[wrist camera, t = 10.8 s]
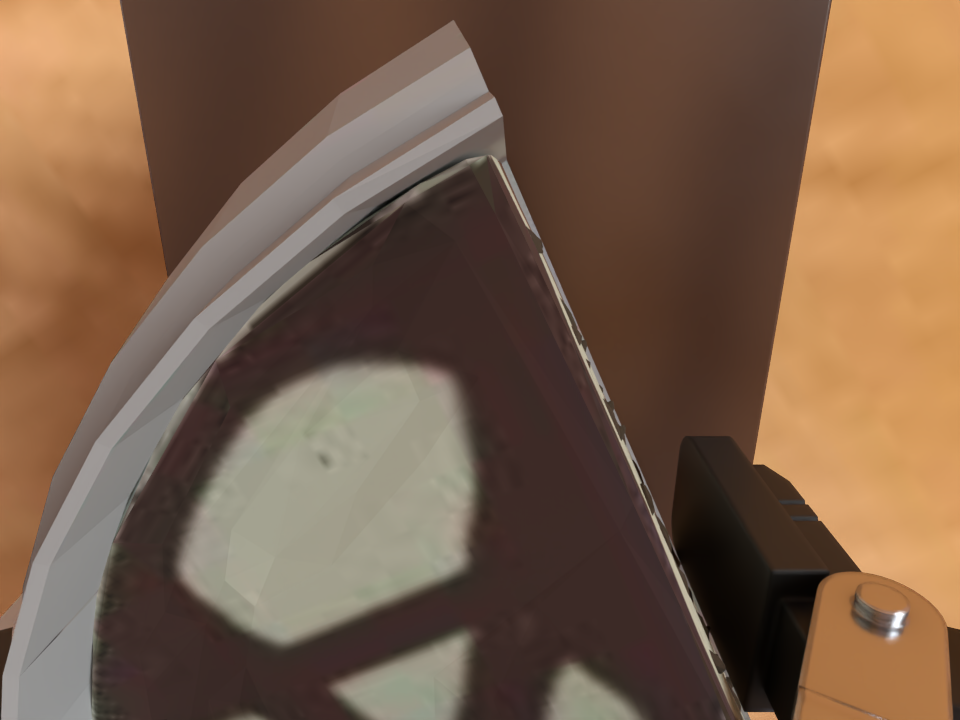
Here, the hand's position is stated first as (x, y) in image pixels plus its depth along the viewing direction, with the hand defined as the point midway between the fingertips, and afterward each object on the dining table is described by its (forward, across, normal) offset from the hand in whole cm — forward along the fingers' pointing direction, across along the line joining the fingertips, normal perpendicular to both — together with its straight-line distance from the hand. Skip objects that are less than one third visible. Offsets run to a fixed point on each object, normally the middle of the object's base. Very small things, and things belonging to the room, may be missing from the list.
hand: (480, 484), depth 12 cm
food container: (+3, 0, 0) cm, 3 cm away
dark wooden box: (+18, 0, 0) cm, 18 cm away
